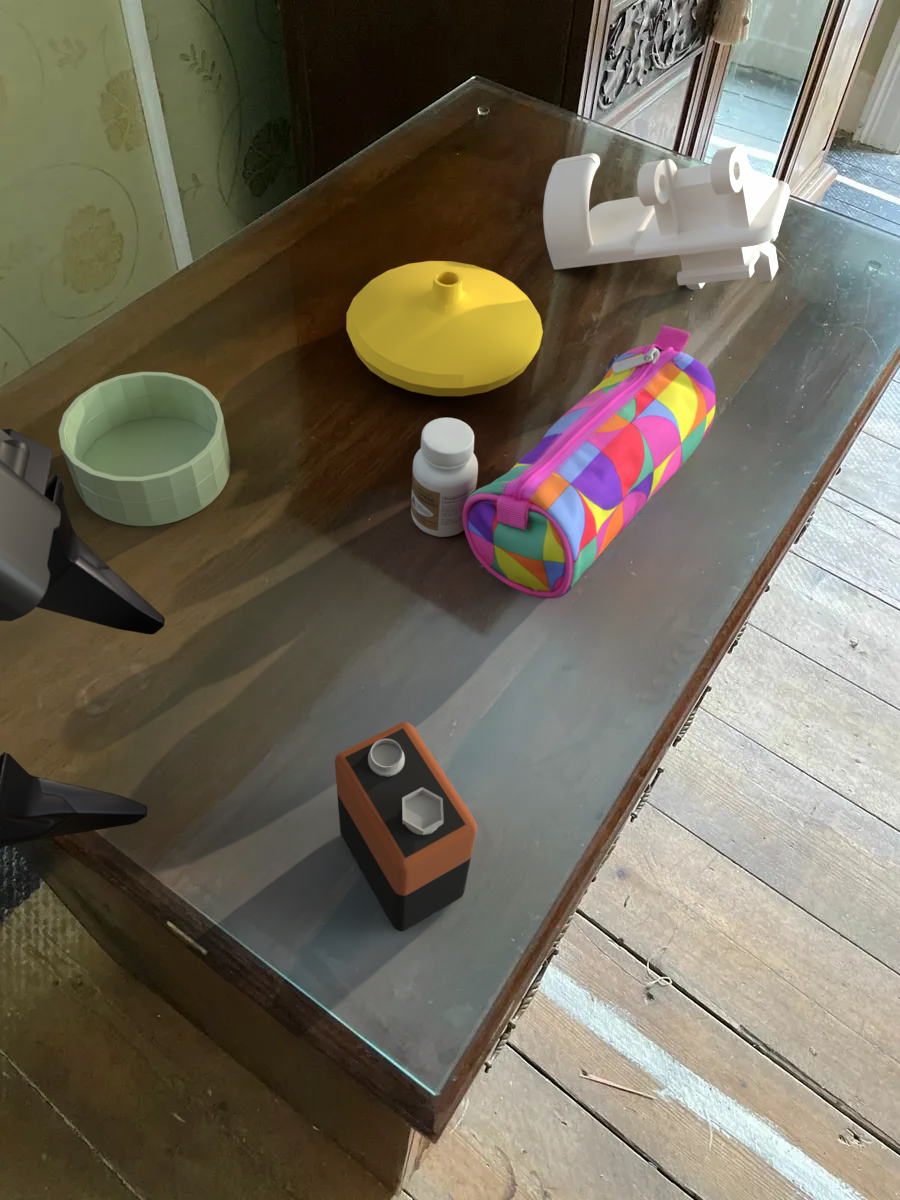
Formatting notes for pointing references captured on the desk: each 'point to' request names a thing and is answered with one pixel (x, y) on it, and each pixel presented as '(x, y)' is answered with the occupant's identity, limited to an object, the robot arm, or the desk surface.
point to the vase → (444, 328)
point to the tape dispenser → (670, 218)
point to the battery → (404, 824)
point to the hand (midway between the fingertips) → (151, 714)
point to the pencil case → (593, 469)
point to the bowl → (146, 448)
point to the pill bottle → (443, 476)
